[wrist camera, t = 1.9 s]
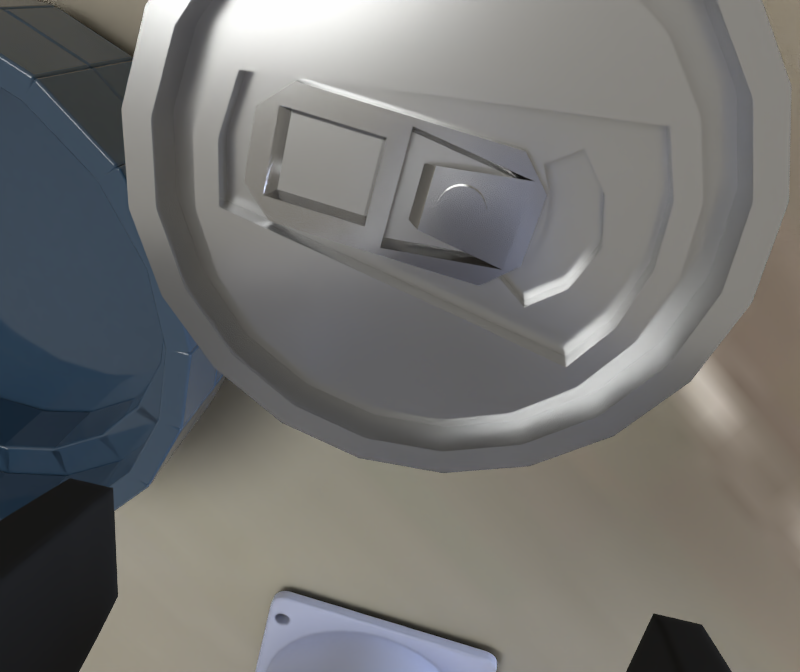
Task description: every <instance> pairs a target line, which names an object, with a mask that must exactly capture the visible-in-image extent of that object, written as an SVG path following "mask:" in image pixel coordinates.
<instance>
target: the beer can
mask: <svg viewBox="0 0 800 672" xmlns="http://www.w3.org/2000/svg"><path fill="white" fill-rule="evenodd" d="M121 112H122V125H123V138H124V151H125V164H126V177H127V190H128V204H129V210H130V213H131V215H132V218H133V221H134V223H135V226H136V228H137V231H138V234H139V236H140V239H141V242H142V244H143V247H144V250H145V252H146V255H147V258H148V260H149V263H150V266H151V268H152V271H153V274H154V276H155V279H156V281H157V284H158V287H159V289H160V292H161V295H162V297H163V298H164V299H165V301H166V302H167V304H168V305H169V306H170V308H171V309H172V310H173V312H174V313H175V315H176V316H177V317H178V319H179V320H180V321H181V323H182V324H183V325H184V327H185V328H186V330H187V331H188V332H189V334H190V335H191V336H192V338H193V339H194V341H195V342H196V343H197V345H198V346H199V347H200V349H201V350H202V352H203V353H204V354H205V356H206V357H207V358H208V360H209V361H210V362H211V364H212V365H213V367H214V368H215V369H216V370H218V371H219V372H220V373H221V374H222V375H224V376H225V377H226V378H227V379H229V380H230V381H231V382H232V383H234V384H235V385H236V386H237V387H238V388H240V389H241V390H242V391H243V392H245V393H246V394H247V395H248V396H250V397H251V398H252V399H253V400H254V401H256V402H257V403H258V404H259V405H261V406H262V407H263V408H264V409H266V410H267V411H268V412H269V413H271V414H272V415H273V416H274V417H275V418H277V419H278V420H279V421H280V422H282V423H284V424H286V425H288V426H290V427H292V428H295V429H297V430H299V431H301V432H303V433H305V434H308V435H310V436H312V437H314V438H316V439H319V440H321V441H323V442H325V443H327V444H330V445H332V446H334V447H336V448H338V449H341V450H343V451H345V452H347V453H349V454H351V455H354V456H356V457H358V458H362V459H367V460H373V461H379V462H384V463H390V464H395V465H401V466H407V467H412V468H418V469H423V470H429V471H435V472H440V473H449V472H462V471H474V470H487V469H499V468H512V467H525V466H531V465H534V464H537V463H539V462H542V461H545V460H548V459H551V458H553V457H556V456H559V455H562V454H565V453H568V452H570V451H573V450H576V449H579V448H582V447H584V446H587V445H590V444H593V443H596V442H598V441H601V440H604V439H607V438H610V437H612V436H614V435H616V434H617V433H619V432H620V431H621V430H623V429H624V428H626V427H627V426H629V425H630V424H631V423H633V422H634V421H636V420H637V419H638V418H640V417H641V416H643V415H644V414H645V413H647V412H648V411H650V410H651V409H652V408H654V407H655V406H657V405H658V404H659V403H661V402H662V401H664V400H665V399H667V398H668V397H669V396H671V395H672V394H674V393H675V392H676V391H678V390H679V389H681V388H682V387H683V386H685V385H686V384H688V383H689V382H690V381H691V380H692V379H693V378H694V376H695V375H696V374H697V372H698V371H699V370H700V369H701V367H702V366H703V365H704V363H705V362H706V361H707V360H708V358H709V357H710V356H711V354H712V353H713V352H714V351H715V349H716V348H717V347H718V345H719V344H720V343H721V342H722V340H723V339H724V338H725V336H726V335H727V334H728V333H729V331H730V330H731V329H732V328H733V326H734V325H735V324H736V322H737V321H738V320H739V319H740V317H741V316H742V315H743V313H744V312H745V311H746V310H747V308H748V307H749V306H750V304H751V303H752V301H753V298H754V296H755V293H756V290H757V287H758V285H759V282H760V279H761V277H762V274H763V271H764V268H765V266H766V263H767V260H768V258H769V255H770V252H771V249H772V247H773V244H774V241H775V238H776V236H777V233H778V230H779V228H780V225H781V222H782V219H783V217H784V214H785V211H786V208H787V206H788V203H789V179H790V131H791V84H790V81H789V78H788V75H787V72H786V69H785V66H784V63H783V60H782V57H781V55H780V52H779V49H778V46H777V43H776V40H775V37H774V34H773V31H772V28H771V25H770V23H769V20H768V17H767V14H766V11H765V8H764V5H763V2H762V0H149V1H148V2H147V4H146V6H145V9H144V14H143V18H142V22H141V27H140V31H139V35H138V40H137V44H136V48H135V52H134V57H133V61H132V65H131V70H130V74H129V78H128V82H127V87H126V91H125V95H124V100H123V104H122V108H121Z"/></svg>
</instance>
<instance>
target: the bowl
mask: <svg viewBox="0 0 800 672" xmlns="http://www.w3.org/2000/svg"><path fill="white" fill-rule="evenodd" d="M132 61H133V58H132V56H130V55H129V54H127V53H126V52H124V51H123V50H121V49H120V48H118V47H117V46H115V45H114V44H112V43H111V42H109V41H107V40H106V39H104V38H103V37H101V36H100V35H98V34H97V33H95V32H94V31H92V30H91V29H89V28H88V27H86V26H85V25H83V24H82V23H80V22H79V21H77V20H76V19H74V18H72V17H71V16H69V15H68V14H66V13H65V12H63V11H62V10H60V9H59V8H57V7H54V6H53V5H52V4H49V3H45V2H42V1H38V0H0V520H2V519H3V518H5V517H7V516H8V515H10V514H11V513H13V512H15V511H16V510H18V509H20V508H21V507H23V506H25V505H26V504H28V503H29V502H31V501H33V500H34V499H36V498H38V497H39V496H41V495H43V494H44V493H46V492H48V491H49V490H51V489H52V488H54V487H56V486H58V485H59V484H61V483H63V482H64V481H66V480H68V479H69V478H72V479H76V480H80V481H85V482H89V483H93V484H97V485H102V486H106V487H110V488H113V496H114V511H115V510H117V509H118V508H119V507H121V506H122V505H124V504H125V503H126V502H128V501H129V500H131V499H132V498H133V497H135V496H136V495H138V494H139V493H140V492H142V491H143V490H145V489H146V488H148V487H149V485H150V484H151V483H152V482H153V480H154V479H155V478H156V476H157V475H158V474H159V472H160V471H161V470H162V468H163V467H164V466H165V464H166V463H167V462H168V460H169V459H170V457H171V456H172V455H173V453H174V452H175V451H176V449H177V448H178V447H179V445H180V444H181V443H182V441H183V440H184V438H185V437H186V436H187V434H188V433H189V432H190V430H191V429H192V428H193V426H194V425H195V424H196V422H197V421H198V420H199V418H200V417H201V415H202V414H203V413H204V411H205V410H206V409H207V407H208V406H209V405H210V403H211V402H212V400H213V398H214V397H215V395H216V393H217V392H218V390H219V388H220V387H221V385H222V383H223V382H224V380H225V378H226V377H225V376H224V375H222V374H221V373H220V372H219V371H218V370H216V369H215V368H214V367H213V365H212V364H211V362H210V361H209V360H208V358H207V357H206V356H205V354H204V353H203V352H202V350H201V349H200V347H199V346H198V345H197V343H196V342H195V341H194V339H193V338H192V336H191V335H190V334H189V332H188V331H187V330H186V328H185V327H184V325H183V324H182V323H181V321H180V320H179V319H178V317H177V316H176V315H175V313H174V312H173V310H172V309H171V308H170V306H169V305H168V304H167V302H166V301H165V299H164V298H163V297H162V295H161V292H160V289H159V287H158V284H157V281H156V279H155V276H154V274H153V271H152V268H151V266H150V263H149V260H148V258H147V255H146V252H145V250H144V247H143V244H142V242H141V239H140V236H139V234H138V231H137V228H136V226H135V223H134V221H133V218H132V215H131V213H130V210H129V204H128V190H127V177H126V164H125V151H124V138H123V125H122V112H121V108H122V104H123V100H124V95H125V91H126V87H127V82H128V78H129V74H130V70H131V65H132Z"/></svg>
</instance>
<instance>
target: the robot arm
mask: <svg viewBox="0 0 800 672" xmlns="http://www.w3.org/2000/svg"><path fill="white" fill-rule="evenodd" d="M117 597H118V587H117V564H116V541H115V519H114V496H113V488H110V487H106V486H102V485H97V484H93V483H89V482H85V481H80V480H76V479H72V478H69V479H68V480H66V481H64V482H63V483H61V484H59V485H58V486H56V487H54V488H52V489H51V490H49V491H48V492H46V493H44V494H43V495H41V496H39V497H38V498H36V499H34V500H33V501H31V502H29V503H28V504H26V505H25V506H23V507H21V508H20V509H18V510H16V511H15V512H13V513H11V514H10V515H8V516H7V517H5V518H3V519H2V520H0V672H79V670H80V669H81V667H82V665H83V663H84V661H85V659H86V657H87V656H88V654H89V652H90V650H91V648H92V646H93V644H94V642H95V641H96V639H97V637H98V635H99V633H100V631H101V629H102V627H103V625H104V623H105V621H106V619H107V617H108V615H109V613H110V611H111V609H112V607H113V605H114V603H115V601H116V599H117ZM283 614H284V615H283ZM496 670H497V660H496V658H495V657H494V656H493V655H492V654H491V653H489V652H487V651H484V650H481V649H477V648H474V647H471V646H468V645H464V644H461V643H458V642H454V641H451V640H448V639H445V638H441V637H438V636H435V635H431V634H428V633H425V632H422V631H418V630H415V629H412V628H408V627H405V626H402V625H398V624H395V623H392V622H389V621H385V620H382V619H379V618H375V617H372V616H369V615H366V614H362V613H359V612H356V611H352V610H349V609H346V608H343V607H339V606H336V605H333V604H329V603H326V602H323V601H320V600H316V599H313V598H310V597H306V596H303V595H300V594H296V593H293V592H290V591H280V592H278V593H276V594H275V596H274V598H273V600H272V603H271V606H270V610H269V615H268V619H267V623H266V628H265V632H264V636H263V641H262V645H261V649H260V654H259V658H258V662H257V667H256V671H255V672H496ZM626 672H731V670H730V668H729V667H728V665H727V664H726V662H725V660H724V659H723V657H722V656H721V654H720V653H719V651H718V649H717V648H716V646H715V645H714V643H713V641H712V640H711V638H710V637H709V635H708V634H707V632H706V630H705V629H704V627H703V626H702V625H701V624H696V623H692V622H688V621H683V620H679V619H675V618H671V617H666V616H662V615H658V614H653V616H652V618H651V620H650V622H649V624H648V626H647V629H646V631H645V633H644V635H643V637H642V639H641V641H640V643H639V646H638V648H637V650H636V652H635V654H634V656H633V658H632V660H631V663H630V665H629V667H628V669H627V671H626Z"/></svg>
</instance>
